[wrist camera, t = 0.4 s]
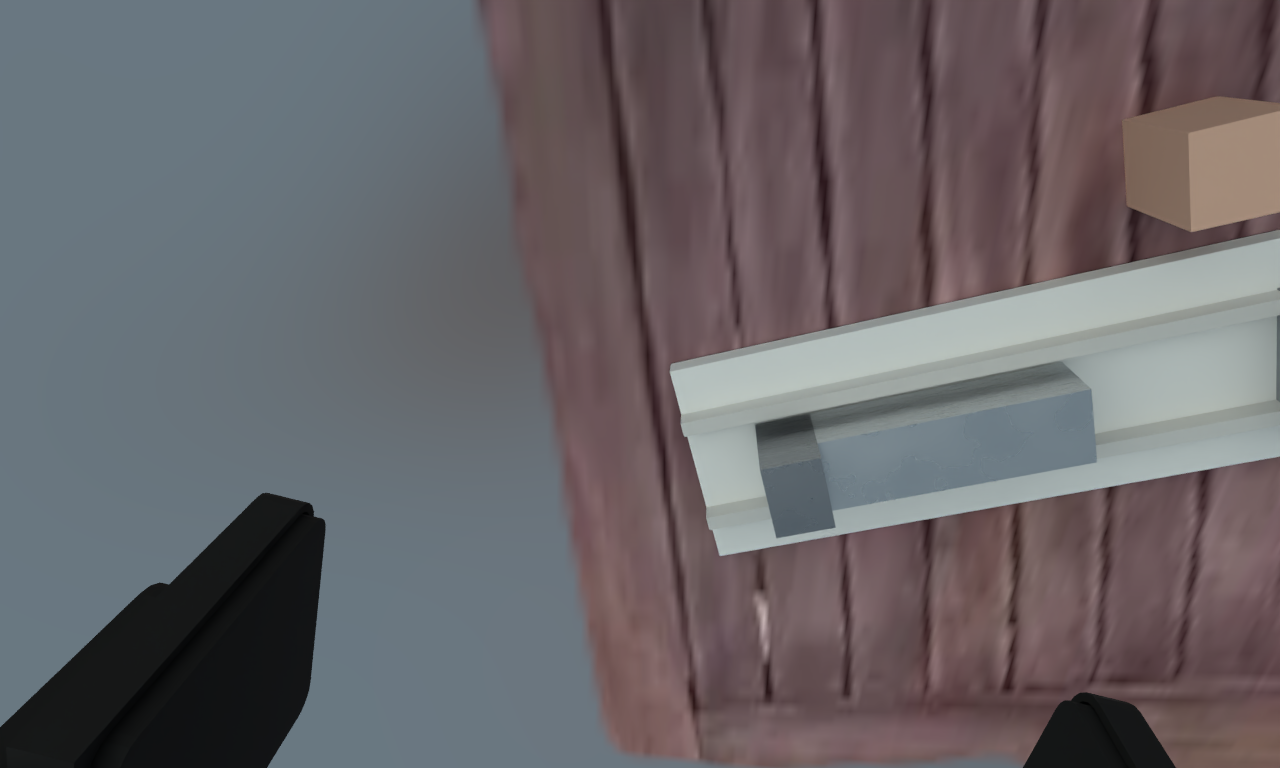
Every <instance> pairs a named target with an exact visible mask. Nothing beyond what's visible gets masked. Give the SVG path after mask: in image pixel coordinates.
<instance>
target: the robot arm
mask: <svg viewBox="0 0 1280 768" xmlns="http://www.w3.org/2000/svg"><path fill="white" fill-rule="evenodd" d="M324 539H325V521H324V520H323V519H322V518H317V517H314V511H313V507H312V505H311V504H310V503H307V502H303V501H299V500H294V499H290V498H286V497H282V496H278V495H274V494H270V493H262V494H261V495H260V496H258V497H257V498H256V499H255V500H254V501H253V502H252V503H251V504H250V505H249V506H248V507H247V508H246V509H245V510H244V511H243V512H242V513H241V514H240V515H239V516H238V517H237V518H236V519H235V520H234V521H233V522H232V523H231V524H230V525H229V526H228V527H227V528H226V529H225V530H224V531H223V532H222V533H221V534H220V535H219V536H218V537H217V538H216V539H215V540H214V541H213V542H212V543H211V544H210V545H209V546H208V547H207V548H206V549H205V550H204V551H203V552H202V553H201V554H200V555H199V556H198V557H197V558H196V559H195V560H194V561H193V562H192V563H191V564H190V565H189V566H187V568H186V569H185V570H183V571H182V572H181V573H180V574H179V575H178V577H176V578H175V579H174V580H173V581H172V582H171V584H169V585H168V584H164V583H157V584H154V585H151V586H149V587H148V588H147V589H145V590H144V591H143V592H141V593H140V594H139V595H138V596H137V597H136V598H135V599H134V600H133V601H132V602H131V603H130V604H128V606H126V607H125V608H124V610H122V611H121V612H120V613H119V614H118V615H117V616H116V617H115V618H114V619H113V620H112V621H111V622H110V623H109V624H108V625H107V626H106V627H105V628H103V629H102V630H101V631H100V632H99V633H98V634H97V635H96V636H95V637H94V638H93V639H92V640H91V641H90V642H89V643H88V644H87V645H86V646H85V647H84V648H83V649H82V650H81V651H80V652H78V654H76V655H75V656H74V657H73V658H72V659H71V660H70V661H69V662H68V663H67V664H66V665H65V666H64V667H63V668H62V669H61V670H60V671H59V672H58V673H57V674H55V675H54V677H52V678H51V679H50V680H49V681H48V682H47V683H46V684H45V685H44V686H43V687H42V688H41V689H40V690H39V691H38V692H37V693H36V694H35V695H33V697H31V698H30V699H29V700H28V701H27V702H26V703H25V704H24V705H23V706H22V707H21V708H20V709H19V710H18V711H17V712H16V713H15V714H14V715H13V716H12V717H10V718H9V719H8V720H7V721H6V722H5V723H4V724H3V725H2V726H1V727H0V768H267V767H268V765H269V763H270V762H271V760H272V759H273V757H274V755H275V754H276V752H277V750H278V749H279V747H280V746H281V744H282V742H283V741H284V739H285V737H286V736H287V734H288V733H289V731H290V729H291V728H292V726H293V724H294V723H295V721H296V720H297V718H298V716H299V714H300V712H301V711H302V708H303V706H304V704H305V701H306V698H307V695H308V691H309V687H310V680H311V670H312V660H313V650H314V640H315V630H316V620H317V609H318V599H319V589H320V580H321V569H322V559H323V548H324ZM1023 768H1176V767H1175V766H1174V764H1173V762H1172V761H1171V759H1170V758H1169V756H1168V755H1167V753H1166V752H1165V750H1164V748H1163V747H1162V745H1161V744H1160V742H1159V741H1158V739H1157V738H1156V736H1155V734H1154V733H1153V731H1152V730H1151V728H1150V727H1149V725H1148V724H1147V722H1146V720H1145V719H1144V717H1143V716H1142V714H1141V713H1140V711H1139V710H1138V709H1137V708H1136V707H1135V706H1134V705H1132V704H1130V703H1128V702H1124V701H1119V700H1115V699H1111V698H1107V697H1103V696H1099V695H1095V694H1091V693H1079V694H1077V695H1076V696H1074V698H1073V699H1072V700H1071V701H1063V702H1061V703H1060V704H1059V705H1058V707H1057V708H1056V710H1055V712H1054V713H1053V715H1052V717H1051V719H1050V720H1049V722H1048V724H1047V726H1046V728H1045V729H1044V731H1043V733H1042V735H1041V737H1040V738H1039V740H1038V742H1037V744H1036V746H1035V747H1034V749H1033V751H1032V753H1031V754H1030V756H1029V758H1028V760H1027V762H1026V763H1025V765H1024V767H1023Z"/></svg>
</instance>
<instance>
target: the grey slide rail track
mask: <svg viewBox="0 0 1280 768" xmlns="http://www.w3.org/2000/svg"><path fill="white" fill-rule="evenodd" d="M1060 362H1063V363H1064V364H1065V365H1066V366H1067V367H1068V368H1069V369H1070V370H1071V371H1072V372H1074V373H1075V374H1076V375H1077V376H1078V377H1079V378H1080V379H1081V380H1082V381H1083V382H1084V383H1085V384H1087V385H1088V386H1089V387H1090V388H1091V389H1092V402H1093V415H1094V428H1095V441H1096V454H1097V463H1091V464H1086V465H1080V466H1075V467H1069V468H1064V469H1058V470H1053V471H1047V472H1042V473H1037V474H1031V475H1026V476H1020V477H1015V478H1009V479H1004V480H998V481H993V482H987V483H982V484H976V485H971V486H966V487H960V488H955V489H949V490H944V491H938V492H933V493H927V494H922V495H916V496H911V497H906V498H900V499H895V500H889V501H884V502H878V503H873V504H867V505H862V506H856V507H851V508H845V509H840V510H835V511H832V512H833V517H834V521H835V526H836V528H831V529H826V530H820V531H815V532H809V533H804V534H798V535H792V536H787V537H781V538H776V535H775V531H774V527H773V522H772V518H771V514H770V510H769V506H768V502H767V497H766V493H765V489H764V485H763V481H762V477H761V473H760V466H759V457H758V448H757V439H756V429H755V425H756V424H761V423H766V422H771V421H776V420H781V419H786V418H791V417H796V416H800V415H805V414H810V413H815V412H820V411H825V410H830V409H835V408H840V407H845V406H849V405H854V404H859V403H864V402H869V401H874V400H879V399H884V398H889V397H894V396H898V395H903V394H908V393H913V392H918V391H923V390H928V389H933V388H938V387H943V386H947V385H952V384H957V383H962V382H967V381H972V380H977V379H982V378H987V377H992V376H996V375H1001V374H1006V373H1011V372H1016V371H1021V370H1026V369H1031V368H1036V367H1041V366H1045V365H1050V364H1055V363H1060ZM670 374H671V378H672V382H673V385H674V389H675V393H676V396H677V400H678V404H679V407H680V411H681V427H682V431H683V434H684V437H688V441H689V444H690V448H691V452H692V455H693V459H694V463H695V466H696V470H697V474H698V477H699V481H700V485H701V489H702V492H703V496H704V500H705V503H706V507H707V511H706V519H707V522H708V526H709V530H713V533H714V536H715V540H716V544H717V547H718V551H719V555H720V556H723V555H729V554H734V553H740V552H746V551H751V550H757V549H763V548H768V547H774V546H779V545H785V544H791V543H796V542H802V541H807V540H813V539H819V538H824V537H830V536H836V535H841V534H847V533H852V532H858V531H864V530H869V529H875V528H880V527H886V526H892V525H897V524H903V523H909V522H914V521H920V520H925V519H931V518H937V517H942V516H948V515H954V514H959V513H965V512H970V511H976V510H982V509H987V508H993V507H998V506H1004V505H1010V504H1015V503H1021V502H1027V501H1032V500H1038V499H1043V498H1049V497H1055V496H1060V495H1066V494H1071V493H1077V492H1083V491H1088V490H1094V489H1100V488H1105V487H1111V486H1116V485H1122V484H1128V483H1133V482H1139V481H1145V480H1150V479H1156V478H1161V477H1167V476H1173V475H1178V474H1184V473H1189V472H1195V471H1201V470H1206V469H1212V468H1218V467H1223V466H1229V465H1234V464H1240V463H1246V462H1251V461H1257V460H1263V459H1268V458H1274V457H1279V456H1280V230H1276V231H1271V232H1267V233H1262V234H1257V235H1253V236H1248V237H1244V238H1239V239H1235V240H1230V241H1226V242H1221V243H1217V244H1212V245H1208V246H1203V247H1199V248H1194V249H1189V250H1185V251H1180V252H1176V253H1171V254H1167V255H1162V256H1158V257H1153V258H1149V259H1144V260H1140V261H1135V262H1131V263H1126V264H1121V265H1117V266H1112V267H1108V268H1103V269H1099V270H1094V271H1090V272H1085V273H1081V274H1076V275H1072V276H1067V277H1063V278H1058V279H1054V280H1049V281H1044V282H1040V283H1035V284H1031V285H1026V286H1022V287H1017V288H1013V289H1008V290H1004V291H999V292H995V293H990V294H986V295H981V296H976V297H972V298H967V299H963V300H958V301H954V302H949V303H945V304H940V305H936V306H931V307H927V308H922V309H918V310H913V311H908V312H904V313H899V314H895V315H890V316H886V317H881V318H877V319H872V320H868V321H863V322H859V323H854V324H850V325H845V326H841V327H836V328H831V329H827V330H822V331H818V332H813V333H809V334H804V335H800V336H795V337H791V338H786V339H782V340H777V341H773V342H768V343H763V344H759V345H754V346H750V347H745V348H741V349H736V350H732V351H727V352H723V353H718V354H714V355H709V356H705V357H700V358H695V359H691V360H686V361H682V362H677V363H673V364H671V367H670Z"/></svg>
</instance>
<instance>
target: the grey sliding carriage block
mask: <svg viewBox="0 0 1280 768" xmlns="http://www.w3.org/2000/svg"><path fill="white" fill-rule="evenodd" d="M755 429H756V439H757V448H758V457H759V466H760V473H761V477H762V481H763V485H764V489H765V493H766V497H767V502H768V506H769V510H770V514H771V518H772V522H773V527H774V531H775V535H776V538H781V537H787V536H792V535H798V534H804V533H809V532H815V531H820V530H826V529H831V528H836V526H835V521H834V517H833V512H832V511H835V510H840V509H845V508H851V507H856V506H862V505H867V504H873V503H878V502H884V501H889V500H895V499H900V498H906V497H911V496H916V495H922V494H927V493H933V492H938V491H944V490H949V489H955V488H960V487H966V486H971V485H976V484H982V483H987V482H993V481H998V480H1004V479H1009V478H1015V477H1020V476H1026V475H1031V474H1037V473H1042V472H1047V471H1053V470H1058V469H1064V468H1069V467H1075V466H1080V465H1086V464H1091V463H1097V454H1096V441H1095V428H1094V415H1093V402H1092V389H1091V388H1090V387H1089V386H1088V385H1087V384H1085V383H1084V382H1083V381H1082V380H1081V379H1080V378H1079V377H1078V376H1077V375H1076V374H1075V373H1074V372H1072V371H1071V370H1070V369H1069V368H1068V367H1067V366H1066V365H1065V364H1064V363H1063V362H1060V363H1055V364H1050V365H1045V366H1041V367H1036V368H1031V369H1026V370H1021V371H1016V372H1011V373H1006V374H1001V375H996V376H992V377H987V378H982V379H977V380H972V381H967V382H962V383H957V384H952V385H947V386H943V387H938V388H933V389H928V390H923V391H918V392H913V393H908V394H903V395H898V396H894V397H889V398H884V399H879V400H874V401H869V402H864V403H859V404H854V405H849V406H845V407H840V408H835V409H830V410H825V411H820V412H815V413H810V414H805V415H800V416H796V417H791V418H786V419H781V420H776V421H771V422H766V423H761V424H756V425H755Z"/></svg>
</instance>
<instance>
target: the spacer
mask: <svg viewBox="0 0 1280 768" xmlns="http://www.w3.org/2000/svg"><path fill="white" fill-rule="evenodd" d="M1122 128H1123V146H1124V164H1125V182H1126V200H1127V206H1128V207H1130V208H1132V209H1135V210H1137V211H1140V212H1142V213H1145V214H1147V215H1150V216H1152V217H1155V218H1157V219H1160V220H1162V221H1165V222H1167V223H1170V224H1172V225H1175V226H1177V227H1180V228H1182V229H1184V230H1187V231H1189V232H1194V231H1198V230H1203V229H1207V228H1212V227H1216V226H1221V225H1225V224H1230V223H1234V222H1239V221H1243V220H1247V219H1252V218H1256V217H1261V216H1265V215H1270V214H1274V213H1279V212H1280V103H1274V102H1265V101H1256V100H1247V99H1238V98H1230V97H1221V96H1216V97H1212V98H1208V99H1204V100H1200V101H1196V102H1192V103H1188V104H1184V105H1180V106H1176V107H1172V108H1168V109H1164V110H1160V111H1156V112H1152V113H1148V114H1144V115H1140V116H1136V117H1132V118H1128V119H1124V120H1122Z"/></svg>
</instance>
